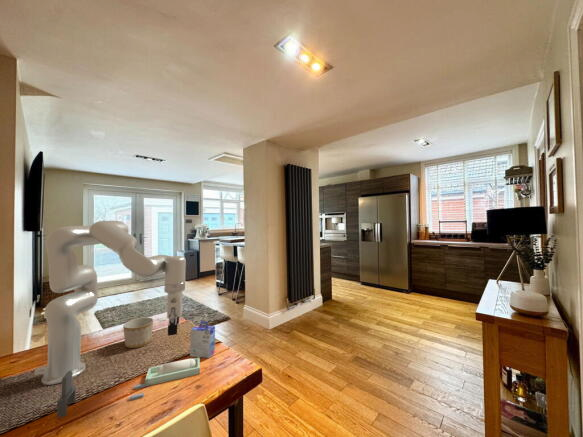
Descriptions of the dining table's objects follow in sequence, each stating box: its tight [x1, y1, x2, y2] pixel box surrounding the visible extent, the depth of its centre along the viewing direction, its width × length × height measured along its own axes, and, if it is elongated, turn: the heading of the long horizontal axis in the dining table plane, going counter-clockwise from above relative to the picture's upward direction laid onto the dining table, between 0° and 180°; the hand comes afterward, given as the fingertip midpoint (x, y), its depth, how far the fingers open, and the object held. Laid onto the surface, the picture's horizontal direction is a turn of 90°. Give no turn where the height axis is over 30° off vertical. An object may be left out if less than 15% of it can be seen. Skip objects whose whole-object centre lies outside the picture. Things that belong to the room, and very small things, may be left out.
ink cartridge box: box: [189, 320, 216, 359], centre depth 107 cm, size 10×6×14 cm, turn 84°
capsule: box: [157, 357, 195, 376], centre depth 94 cm, size 14×4×4 cm, turn 112°
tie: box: [56, 370, 77, 419], centre depth 76 cm, size 2×7×11 cm, turn 22°
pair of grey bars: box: [129, 382, 148, 401], centre depth 83 cm, size 4×7×1 cm, turn 22°
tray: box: [144, 357, 201, 387], centre depth 93 cm, size 19×8×2 cm, turn 112°
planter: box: [123, 317, 154, 349], centre depth 117 cm, size 13×13×10 cm
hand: (173, 329), depth 94 cm, fingers open, 9 cm apart
